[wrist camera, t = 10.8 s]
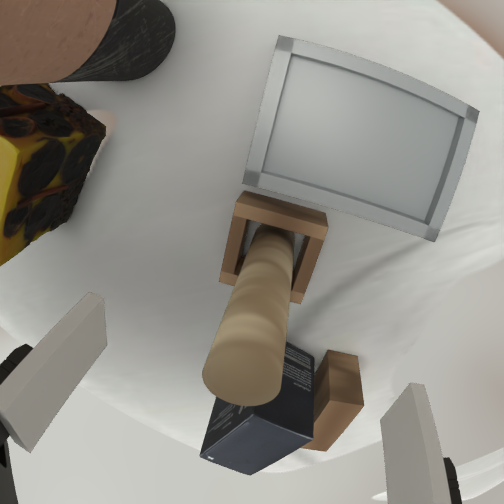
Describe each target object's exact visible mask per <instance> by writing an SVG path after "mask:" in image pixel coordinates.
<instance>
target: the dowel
mask: <svg viewBox="0 0 504 504" xmlns="http://www.w3.org/2000/svg"><path fill="white" fill-rule="evenodd" d="M294 242H295V237H294V233H293V231H289V230H286V229H282V228H278V227H275V226H271V225H268V224H264V223H262V224H261V225H260V226H259V227H258V228H257V230H256V232H255V234H254V237H253V240H252V242H251V245H250V247H249V250H248V253H247V255H246V258H245V261H244V263H243V266H242V268H241V271H240V274H239V276H238V279H237V281H236V284H235V287H234V289H233V292H232V295H231V297H230V300H229V302H228V305H227V308H226V310H225V313H224V316H223V318H222V321H221V323H220V326H219V329H218V331H217V334H216V337H215V339H214V342H213V344H212V347H211V350H210V352H209V355H208V358H207V360H206V363H205V366H204V368H203V372H202V377H203V381H204V383H205V385H206V387H207V388H208V389H209V390H210V391H211V392H212V393H213V394H214V395H215V396H217V397H218V398H220V399H222V400H224V401H226V402H229V403H232V404H236V405H241V406H257V405H262V404H265V403H267V402H269V401H271V400H273V399H274V398H275V397H276V396H277V395H278V393H279V392H280V389H281V381H282V372H283V363H284V354H285V345H286V335H287V325H288V314H289V304H290V292H291V281H292V269H293V256H294Z"/></svg>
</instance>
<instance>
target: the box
mask: <svg viewBox="0 0 504 504" xmlns="http://www.w3.org/2000/svg"><path fill="white" fill-rule="evenodd" d="M313 431H314V357H312V356H311V355H309V354H307V353H305V352H304V351H302V350H300V349H298V348H296V347H294V346H292V345H290V344H288V343H286V345H285V354H284V363H283V372H282V381H281V389H280V392H279V393H278V395H277V396H276V397H275V398H274V399H273V400H271V401H269V402H267V403H265V404H262V405H257V406H241V405H236V404H232V403H229V402H226V401H224V400H222V399H220V398H218V397H217V396H216V400H215V403H214V407H213V410H212V414H211V417H210V420H209V424H208V427H207V431H206V434H205V438H204V441H203V445H202V448H201V452H200V457H201V458H204V459H206V460H208V461H210V462H213V463H216V464H219V465H221V466H224V467H227V468H229V469H232V470H235V471H238V472H240V473H243V474H247V475H252V474H254V473H256V472H258V471H260V470H262V469H264V468H265V467H267V466H269V465H271V464H273V463H275V462H277V461H278V460H280V459H282V458H284V457H285V456H287V455H289V454H290V453H292V452H294V451H295V450H297V449H299V448H300V447H302V446H304V445H305V444H307V443H309V442H311V441H312V440H313V439H314V435H313Z"/></svg>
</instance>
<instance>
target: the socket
mask: <svg viewBox="0 0 504 504" xmlns="http://www.w3.org/2000/svg"><path fill="white" fill-rule="evenodd" d="M250 220H253V221H257V222H260V223H264V224H268V225H271V226H275V227H278V228H282V229H286V230H289V231H293V232H296V233H300V234H303V235H305V238H304V241H303V244H302V247H301V250H300V253H299V256H298V259H297V262H296V265H295V268H294V270H292V281H291V292H290V302H294V303H298V304H301V302H302V299H303V297H304V294H305V292H306V289H307V286H308V284H309V281H310V278H311V275H312V273H313V270H314V267H315V264H316V262H317V259H318V256H319V253H320V250H321V248H322V245H323V242H324V239H325V236H326V233H327V230H328V223H327V218H326V214H325V213H323V212H320V211H317V210H313V209H310V208H306V207H303V206H299V205H296V204H292V203H289V202H285V201H282V200H278V199H274V198H271V197H267V196H263V195H259V194H256V193H252V192H248V191H243V193H242V194H241V196H240V197H239V199H238V200H237V201H236V204H235V209H234V213H233V218H232V222H231V227H230V231H229V236H228V241H227V245H226V250H225V254H224V259H223V264H222V269H221V273H220V278H219V282H222V283H225V284H229V285H232V286H235V284H236V281H237V279H238V276H239V274H240V271H241V268H242V266H243V263H244V261H245V258H246V257H244V256H241V255H242V251H243V247H244V242H245V238H246V234H247V230H248V226H249V222H250Z"/></svg>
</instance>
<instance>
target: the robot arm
mask: <svg viewBox="0 0 504 504" xmlns="http://www.w3.org/2000/svg"><path fill="white" fill-rule="evenodd" d="M106 346H107V336H106V323H105V307H104V298H103V297H101V296H98V295H96V294H93V293H91V292H89V293H88V294H87V295H86V296H85V297H84V298H83V299H81V300H80V301H79V302H78V303H77V304H76V305H75V306H74V307H73V308H72V309H71V310H70V311H69V312H68V313H67V314H66V315H65V316H64V317H63V318H62V319H61V320H60V321H59V322H58V323H57V324H56V325H55V326H54V327H53V328H52V329H51V331H50V332H49V333H48V334H47V335H46V336H45V337H44V338H43V339H42V340H41V341H40V342H39V343H38V344H37V345H36V346H35V347H34V348H32V347H31V346H29V345H27V344H24V345H22V346H21V347H18V348H16V349H15V350H14V351H13V352H12V353H11V354H10V355H9V356H8V357H7V359H6V360H4V361H3V362H2V363H1V364H0V504H18V500H17V496H16V491H15V486H14V481H13V475H12V469H11V463H10V456H9V448H8V443H7V438H8V437H9V436H11V437H12V439H13V440H14V442H15V443H16V444H18V445H19V446H21V447H22V448H24V449H25V450H26V451H28V452H29V453H31V451H32V450H33V448H34V447H35V445H36V444H37V442H38V441H39V439H40V438H41V436H42V435H43V433H44V432H45V430H46V429H47V427H48V426H49V425H50V423H51V422H52V420H53V418H54V417H55V416H56V415H57V413H58V412H59V410H60V409H61V407H62V406H63V405H64V403H65V402H66V400H67V399H68V398H69V396H70V395H71V393H72V392H73V391H74V389H75V388H76V386H77V385H78V384H79V382H80V381H81V380H82V378H83V377H84V375H85V374H86V373H87V371H88V370H89V369H90V367H91V366H92V365H93V363H94V362H95V361H96V359H97V358H98V357H99V355H100V354H101V353H102V351H103V350H104V349H105V347H106ZM380 424H381V432H382V440H383V450H384V459H385V470H386V483H387V498H388V504H462V501H461V495H460V490H459V489H458V488H459V484H458V481H457V474H456V470H455V467H454V465H453V463H452V461H451V460H450V458H443V456H442V451H441V447H440V442H439V438H438V434H437V430H436V426H435V422H434V419H433V414H432V411H431V407H430V403H429V400H428V396H427V393H426V389H425V386H424V385H423V384H417V383H409V385H408V386H407V387H406V389H405V390H404V391H403V393H402V394H401V395H400V396H399V398H398V399H397V400H396V401H395V403H394V404H393V405H392V406H391V407H390V409H389V410H388V411H387V412H386V413H385V415H384V416H383V417H382V418H381V419H380Z"/></svg>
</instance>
